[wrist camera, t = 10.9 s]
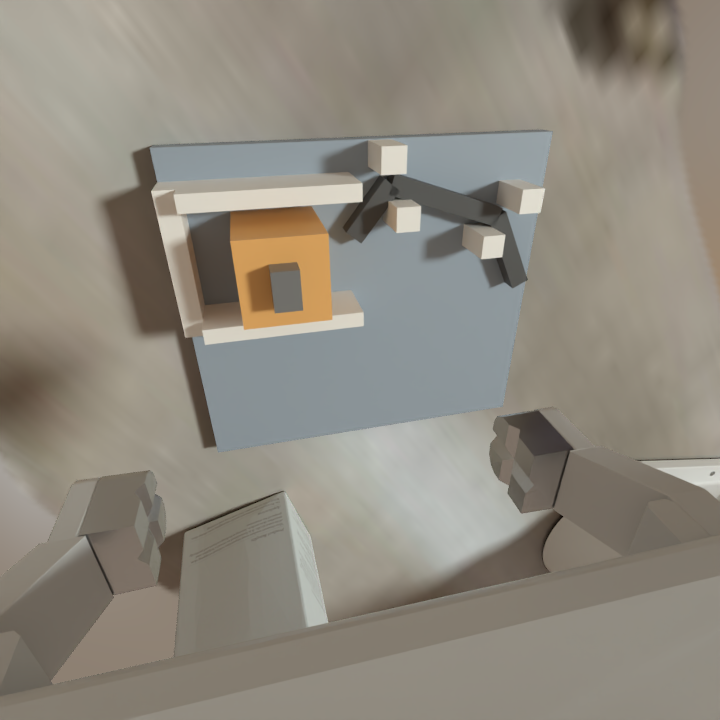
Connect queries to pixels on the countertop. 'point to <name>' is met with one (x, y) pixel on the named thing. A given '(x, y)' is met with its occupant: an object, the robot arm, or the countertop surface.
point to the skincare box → (247, 578)
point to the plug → (281, 266)
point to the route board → (357, 276)
